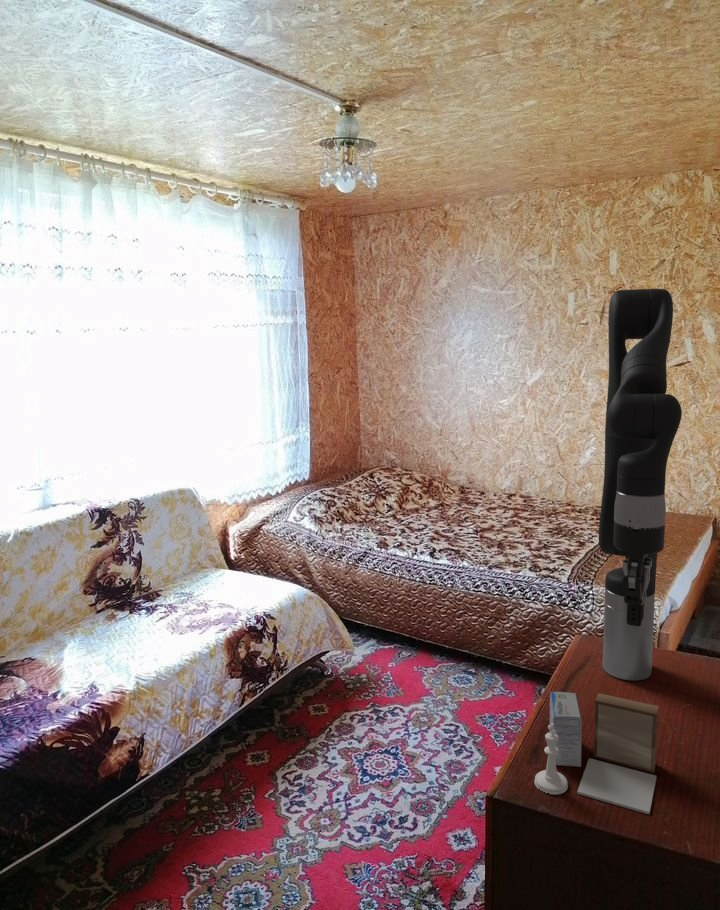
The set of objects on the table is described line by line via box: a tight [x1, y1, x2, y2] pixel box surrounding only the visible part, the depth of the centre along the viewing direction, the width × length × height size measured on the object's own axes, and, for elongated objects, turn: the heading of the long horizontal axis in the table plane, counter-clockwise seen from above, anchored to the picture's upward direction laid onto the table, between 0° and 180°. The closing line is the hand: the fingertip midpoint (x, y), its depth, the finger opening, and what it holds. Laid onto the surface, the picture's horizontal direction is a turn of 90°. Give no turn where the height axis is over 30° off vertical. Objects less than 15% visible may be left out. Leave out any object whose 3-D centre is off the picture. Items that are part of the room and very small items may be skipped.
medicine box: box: [548, 691, 583, 768], centre depth 111 cm, size 8×4×9 cm, turn 168°
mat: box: [576, 757, 657, 815], centre depth 103 cm, size 9×10×1 cm
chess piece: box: [534, 723, 569, 796], centre depth 103 cm, size 5×5×10 cm
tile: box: [593, 693, 659, 773], centre depth 108 cm, size 3×9×10 cm, turn 61°
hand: (635, 621), depth 111 cm, fingers closed
